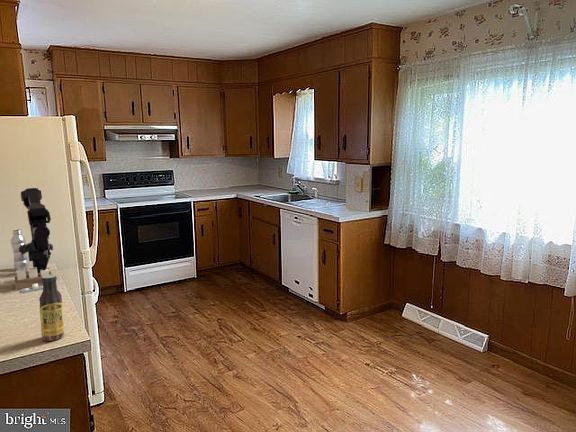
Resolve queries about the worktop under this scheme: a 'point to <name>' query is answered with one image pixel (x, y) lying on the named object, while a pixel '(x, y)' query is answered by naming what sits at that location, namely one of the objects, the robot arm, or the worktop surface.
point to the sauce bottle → (51, 310)
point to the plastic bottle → (16, 242)
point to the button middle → (33, 272)
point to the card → (32, 288)
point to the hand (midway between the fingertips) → (44, 270)
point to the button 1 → (21, 274)
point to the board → (29, 281)
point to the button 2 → (44, 272)
